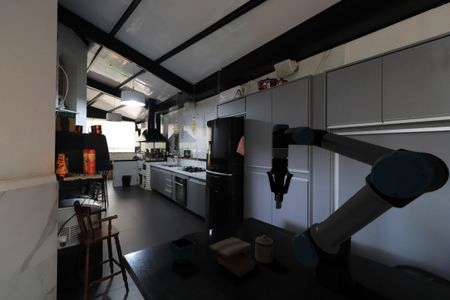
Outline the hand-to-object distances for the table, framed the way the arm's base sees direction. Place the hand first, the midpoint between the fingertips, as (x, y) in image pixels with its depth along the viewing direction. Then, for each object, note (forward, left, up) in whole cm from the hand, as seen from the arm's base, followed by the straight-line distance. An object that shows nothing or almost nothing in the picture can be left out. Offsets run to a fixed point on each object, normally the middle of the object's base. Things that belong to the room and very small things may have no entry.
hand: (278, 208), depth 98 cm
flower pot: (+32, +31, -27) cm, 52 cm away
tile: (+13, +15, -27) cm, 33 cm away
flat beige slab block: (+16, +15, -26) cm, 34 cm away
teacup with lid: (+8, -1, -27) cm, 28 cm away
